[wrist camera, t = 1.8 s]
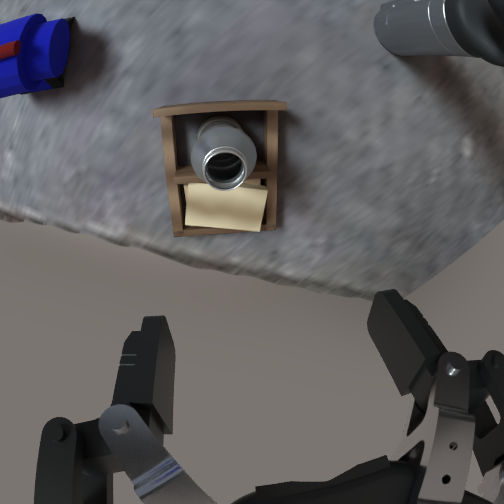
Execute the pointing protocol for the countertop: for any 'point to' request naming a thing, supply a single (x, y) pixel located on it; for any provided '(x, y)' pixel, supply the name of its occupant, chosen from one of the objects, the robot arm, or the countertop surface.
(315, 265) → the countertop surface
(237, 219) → the offcut top
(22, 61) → the alarm clock
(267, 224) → the walnut rack
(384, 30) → the robot arm
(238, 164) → the silver metal bottle
